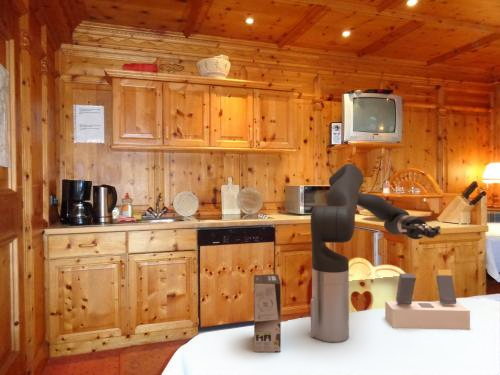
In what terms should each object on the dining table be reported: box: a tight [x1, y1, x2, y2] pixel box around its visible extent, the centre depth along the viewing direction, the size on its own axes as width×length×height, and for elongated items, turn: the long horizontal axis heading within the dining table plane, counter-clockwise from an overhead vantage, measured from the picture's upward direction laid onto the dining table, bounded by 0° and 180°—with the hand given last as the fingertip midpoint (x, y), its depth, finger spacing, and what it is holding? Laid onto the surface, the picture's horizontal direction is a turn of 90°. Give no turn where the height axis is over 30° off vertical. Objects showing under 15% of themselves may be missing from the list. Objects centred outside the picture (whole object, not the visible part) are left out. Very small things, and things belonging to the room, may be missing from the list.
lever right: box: [435, 269, 458, 304], centre depth 104 cm, size 4×2×9 cm, turn 86°
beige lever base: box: [384, 300, 471, 330], centre depth 103 cm, size 20×7×5 cm, turn 85°
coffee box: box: [253, 273, 282, 353], centre depth 91 cm, size 9×6×16 cm
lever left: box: [395, 273, 417, 305], centre depth 101 cm, size 4×2×9 cm, turn 86°
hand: (431, 234), depth 113 cm, fingers closed
